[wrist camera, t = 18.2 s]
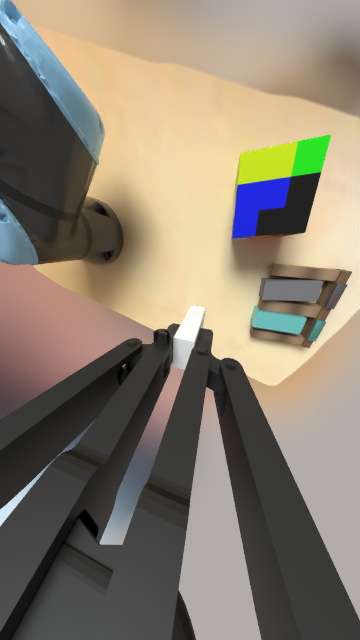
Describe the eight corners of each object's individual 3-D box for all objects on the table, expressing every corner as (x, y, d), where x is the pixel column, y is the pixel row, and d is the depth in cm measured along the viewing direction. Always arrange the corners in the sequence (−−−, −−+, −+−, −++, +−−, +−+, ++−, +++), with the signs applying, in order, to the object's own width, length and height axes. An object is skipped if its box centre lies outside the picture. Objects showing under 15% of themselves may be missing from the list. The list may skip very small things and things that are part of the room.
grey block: (258, 294, 37) (262, 299, 33) (261, 278, 35) (265, 281, 32) (307, 295, 34) (316, 301, 31) (313, 277, 32) (323, 281, 29)
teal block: (250, 319, 40) (252, 326, 36) (254, 305, 38) (257, 311, 35) (292, 326, 38) (299, 334, 34) (299, 311, 36) (306, 318, 32)
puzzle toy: (231, 239, 33) (232, 237, 25) (236, 180, 29) (240, 153, 20) (282, 236, 31) (305, 232, 22) (296, 171, 26) (331, 134, 18)
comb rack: (249, 331, 41) (251, 338, 38) (271, 263, 33) (276, 265, 30) (303, 341, 38) (310, 349, 35) (341, 269, 30) (354, 272, 27)
